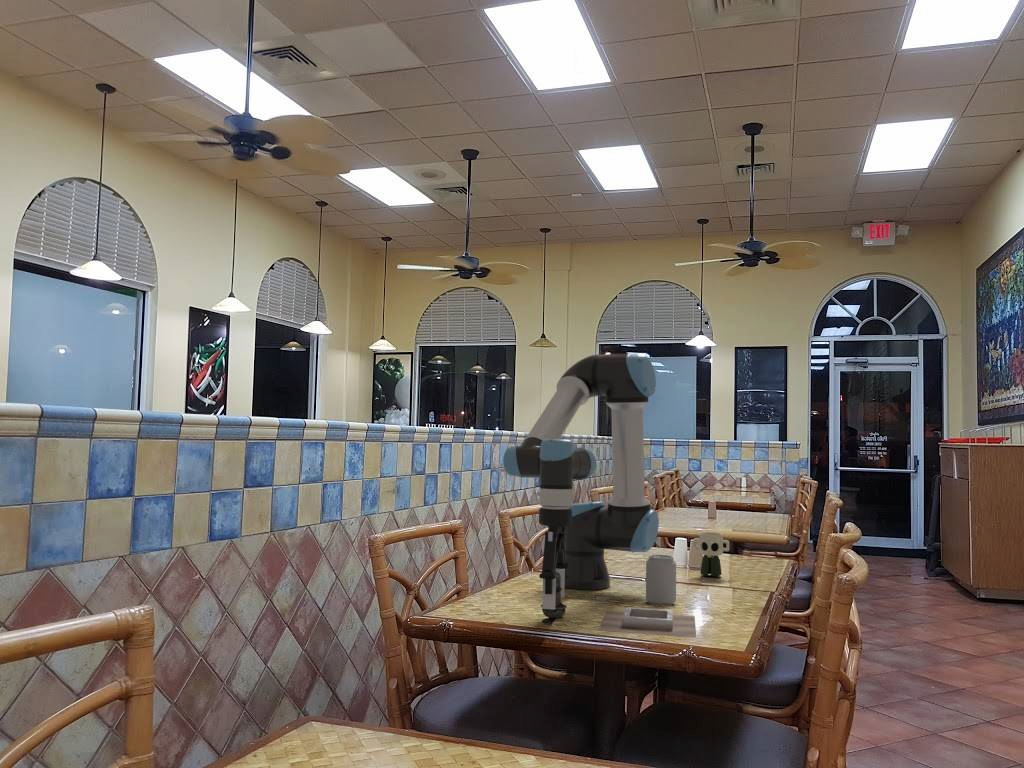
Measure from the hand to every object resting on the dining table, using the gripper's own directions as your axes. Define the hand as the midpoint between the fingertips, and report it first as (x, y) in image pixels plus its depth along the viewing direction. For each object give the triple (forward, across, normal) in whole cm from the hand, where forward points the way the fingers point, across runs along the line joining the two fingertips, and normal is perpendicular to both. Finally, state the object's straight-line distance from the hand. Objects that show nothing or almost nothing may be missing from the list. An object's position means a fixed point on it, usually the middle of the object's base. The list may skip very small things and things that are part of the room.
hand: (553, 603), depth 179 cm
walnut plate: (+4, 0, +21) cm, 21 cm away
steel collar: (+3, 0, +21) cm, 21 cm away
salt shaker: (+4, 0, 0) cm, 4 cm away
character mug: (+4, -74, +37) cm, 83 cm away
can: (+4, -28, +23) cm, 37 cm away
